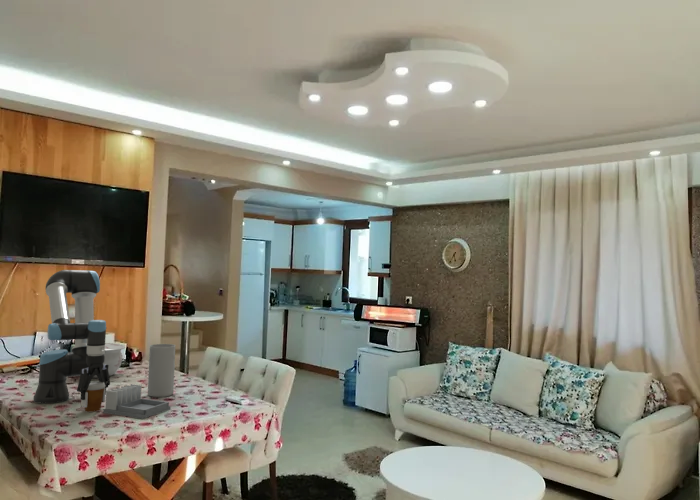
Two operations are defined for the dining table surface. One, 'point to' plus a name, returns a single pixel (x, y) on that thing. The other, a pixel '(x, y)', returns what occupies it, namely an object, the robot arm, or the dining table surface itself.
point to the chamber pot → (112, 357)
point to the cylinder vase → (161, 370)
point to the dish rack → (132, 403)
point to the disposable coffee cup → (95, 396)
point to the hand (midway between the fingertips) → (93, 404)
